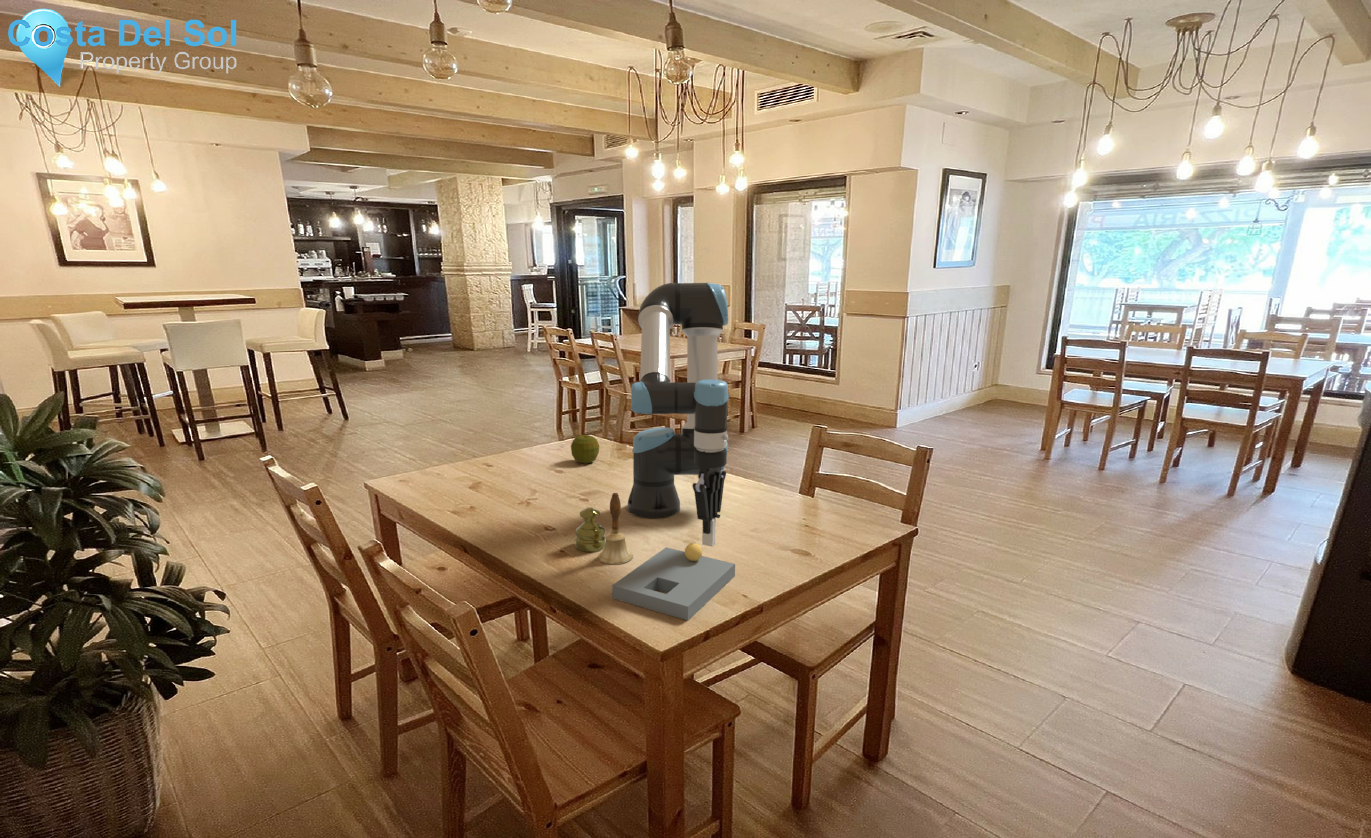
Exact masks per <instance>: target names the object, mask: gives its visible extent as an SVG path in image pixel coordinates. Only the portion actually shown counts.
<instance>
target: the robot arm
mask: <svg viewBox="0 0 1371 838" xmlns="http://www.w3.org/2000/svg"><path fill="white" fill-rule="evenodd" d="M637 316H638V318H637V320H638V321H637V322H638V325H639V327H640V328H641V340H640V341H641V342H640V343H641V344H640V372H639V381H638V382H633V383H632V384H631V389H630V390H631V391H630V394H631V395H630V396H631V398H630V402H631V403H630V405H631V407H630V408H631V410H632V412H633V413H635V414H641V415H642V414H645V415H661V414H663V415H669V414H670V415H671V414H673V415H675V414H677V415H681V414H682V415H685V414H686V415H687V417H686V418H687V419H686V422H685V423H684V424H683V425H682V426H681V433H676V432H675V429H674V428H672V427H664V426H663V427H660V426H659V427H653V428H648V429H644V430H642V431H639V432H637V434H635V436H634V437H633V441H632V444H633V445H632V446H633V447H632V453H633V456H632V457H633V459H632V460H633V462H632V463H633V465H632V466H633V467H632V468H633V469H632V470H633V471H632V472H633V484H632V487H631V491H630V494H629V496H628V500H627V511H628V513H630V514H631V515H633V516H635V517H640V518H646V519H661V518H663V519H664V518H668V517H671V516H674V515H676V514H678V513H679V512H680V510H681V500H680V498H679V494H678V492H677V487H676V484H675V476H677V475H678V476H682V475H683V476H695V475H696V476H697V478H698V481H697V482H693V483H692V489H693V492H694V498H695V499H694V500H695V507H696V508H695V509H696V516H697V518H696V519H697V520H700V521H702V538H701V539H702V541H701V542H702V545H703V546H708V547H711V548H712V547H714V546H716V535H717V534H716V533H717V529H716V527H717V522H716V521H717V519H720V518H721V514H720V513H721V509H722V504H723V503H722V501H723V495H724V486H725V480H726V477H727V471H725V467H726V465H727V462H728V461H727V457H728V449H729V435H728V412H729V411H728V408H729V407H728V405H729V403H728V402H729V398H730V395H729V387H728V386H729V385H728V383H727V381H724V380H721V379H718V337H720V335H721V334H722V333H723V332H724V331H723V330H724V327H725V326H727V325H728V323H729V309H728V301H727V295H726V290H725V288H724V287H723V285H722V284H719V283H709V282H682V283H681V282H668V283H664V284H661V285H660V286H657V287H656V288H655V289H653V290H652V291H650V293H648V295H647V296H646V297H645V298H644V300H643V301H642V303H641V305H640V307H639V311H638V315H637ZM673 325H674V326H675V325H676V326H677V325H679V326H681V332H682V333H683V334H684V335H685V336H686V340H687V341H686V343H687V345H686V346H687V347H686V349H687V350H686V351H687V352H686V353H687V356H686V357H687V361H686V362H687V363H686V365H687V370H686V371H687V372H686V375H687V376H686V378H687V380H686V381H687V382H672V381H671V340H670V339H671V337H670V336H671V328H672V326H673ZM723 326H724V327H723ZM718 513H719V514H718Z"/></svg>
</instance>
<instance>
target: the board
mask: <svg viewBox="0 0 1371 838" xmlns="http://www.w3.org/2000/svg"><path fill="white" fill-rule="evenodd" d="M735 577H736V563H733V562H730V561H725V560H720V559H717V558H712V557H708V556H705V555H704V556H703V555H702V556H701V558H700V559H699V560H697V561H691V560H689V559H687V557H686V556H685V550H684V551H682V550H680V549H675V548H671V547H664V548H662V550H660V551H658V552H657V553H655V554H654V555H653V556H652V557H650V558H649V559H647V560H646V561H644V562H643V563H642V564H640V565H639V566H637V567H636V568H635V569H633V570H632V571H630V572H628V573H627V574H626V575H625V576H623V577H622V578H620V579H619V580H617V581H616V582H614V583H613V584H612V585H611V587H612V588H611V589H612V590H611V591H612V593H611V595H612V599H613V600H617V601H619V602H620V601H621V602H624V603H627V604H629V605H630V604H631V605H633V606H638V607H640V608H644V609H647V610H651V611H654V612H657V613H659V614H660V613H662V614H664V615H667V616H671V617H675V618H676V619H677V618H678V619H681V620H683V621H684V620H685V621H690V620H691V619H692V617H693V616H695V615H696V614H697V613H698V612H699V611H700V610H701V609H702V608H703V607H704V606H705V605H706V604H707V603H708V602H710V600H711V599H712V598H714V597H715V596H716V595H717V594H718V593H719V592H720V591H721V590H722V589H723V588H724V587H725V586H727V584H729V582H730V581H731V580H733V579H734V578H735ZM659 591H660V592H659Z"/></svg>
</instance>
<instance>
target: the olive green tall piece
mask: <svg viewBox="0 0 1371 838" xmlns="http://www.w3.org/2000/svg"><path fill="white" fill-rule="evenodd" d="M600 514H601V512H600V510H598V509H597V508H595V507H590V506H588V507H586V508H584V509H582V510H581V511H579V516H580V518H583V520H584V521H583V522H582V523H581V524H580V525H579V526H577V527H576V529H575V531H574V534H575V539H574V541H575V548H576V549H577V550H578V551H581V552H586V553H593V552H597V551H598V552H599V551H601V550H603V549H604V547H605V542H606V536H605V534H606V528H605V527H604V526H603V525H601V524H600V523H599V522H597V520H596V519H597V518H598V517H599V516H600Z"/></svg>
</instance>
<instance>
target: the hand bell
mask: <svg viewBox="0 0 1371 838" xmlns="http://www.w3.org/2000/svg"><path fill="white" fill-rule="evenodd" d="M611 494H612V495H611V498H610V502H609V512H610V517H611V533H608V534H607V535H606V536H605V547H604V548H603V549H602V551H601V552H600V553H599V554H598V560H599V561H600V562H602V563H603V564H608V565H621V564H625V563H628V562H630V561H632V559H633V558H634V553H632V551H631V550H630V549H629V547H628V545H627V542H626V536H625V535H624V533H621V532H620V531H619V529H620V525H619V524H620V523H619V521H620V520H619V519H620V515H621V509H622V506H621V505H622V504H621V500H620V496H619V493H618V492H613V493H611Z"/></svg>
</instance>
